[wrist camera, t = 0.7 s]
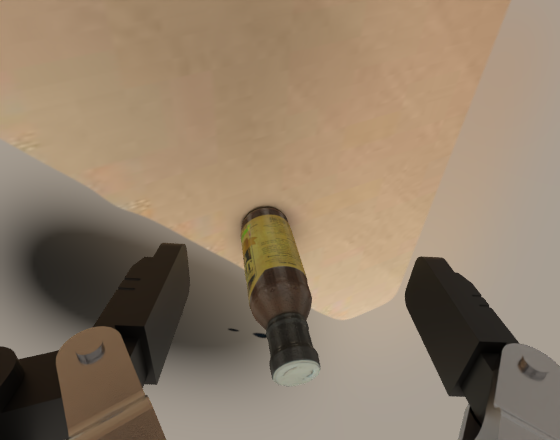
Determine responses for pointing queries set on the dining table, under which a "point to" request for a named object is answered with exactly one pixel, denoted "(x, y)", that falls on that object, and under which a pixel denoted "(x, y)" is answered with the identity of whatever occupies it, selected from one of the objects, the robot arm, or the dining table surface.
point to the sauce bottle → (279, 295)
